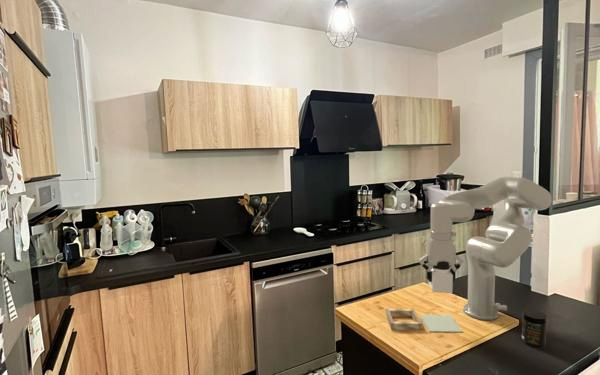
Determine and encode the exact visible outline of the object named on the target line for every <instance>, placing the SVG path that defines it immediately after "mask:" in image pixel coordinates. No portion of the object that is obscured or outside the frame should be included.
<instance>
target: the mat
mask: <svg viewBox="0 0 600 375" xmlns="http://www.w3.org/2000/svg"><path fill="white" fill-rule="evenodd" d="M419 316H420V317H419V318H421V320H422V322H423V324H424V326H425V328H426V329H427V330H428V332H429V333H464V332H463V331H464V330H462V328H461V327H460V326H459V325H458V323H457V322H456V321H455V319H454V318H453V316H452V315H451V314H448V315H447V314H443V315H440V314H420V315H419Z"/></svg>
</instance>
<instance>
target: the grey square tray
mask: <svg viewBox="0 0 600 375" xmlns="http://www.w3.org/2000/svg"><path fill="white" fill-rule="evenodd" d="M385 317H386V320H387V323H388V325H389V328H390V330H393V331H394V330H395V331H398V330H400V331H422V330H423V323H422V322H421V319H420V317H419V315H418V314H417V313H416V310H415V309H414V308H386V309H385ZM393 317H412V320H413V321H394V319H393Z"/></svg>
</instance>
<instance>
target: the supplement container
mask: <svg viewBox="0 0 600 375" xmlns="http://www.w3.org/2000/svg"><path fill="white" fill-rule="evenodd" d="M521 316H522V317H521V318H522V319H521V320H522V327H521V340H522V342H523V343H524V345H525V344H526V345H527V346H529V347H531V348H535V349H536V348H537V349H538V348H539V349H541V348H544V347H545V346H546V340H547V339H546V338H547V322H548V316H547V315H546V314H545V313H544V312H541V311H539V310H534V309H524V310H522V315H521Z"/></svg>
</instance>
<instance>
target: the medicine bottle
mask: <svg viewBox="0 0 600 375" xmlns="http://www.w3.org/2000/svg"><path fill="white" fill-rule="evenodd" d="M450 269H451V268H450V266H449V262H446V261H441V262H438V263H437V266H433V268H432V269H431V272H432V282H429V281H428V286H429V288H430V290H431V291H432V293H437V294H438V293H440V294H441V293H443V294H453V291H454V289H453V288H454V286H453V285H454V282H453V275H452V273H451V272H450V271H449V270H450Z"/></svg>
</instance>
